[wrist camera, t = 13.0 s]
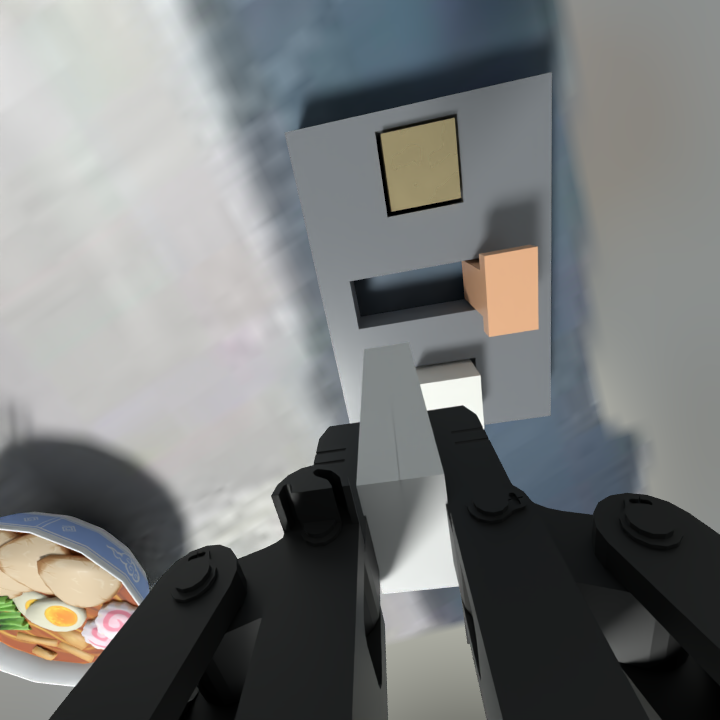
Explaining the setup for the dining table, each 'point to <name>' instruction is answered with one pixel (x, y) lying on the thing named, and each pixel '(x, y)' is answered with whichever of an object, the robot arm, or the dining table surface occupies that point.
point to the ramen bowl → (62, 595)
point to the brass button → (421, 165)
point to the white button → (451, 386)
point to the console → (435, 236)
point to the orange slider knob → (504, 289)
